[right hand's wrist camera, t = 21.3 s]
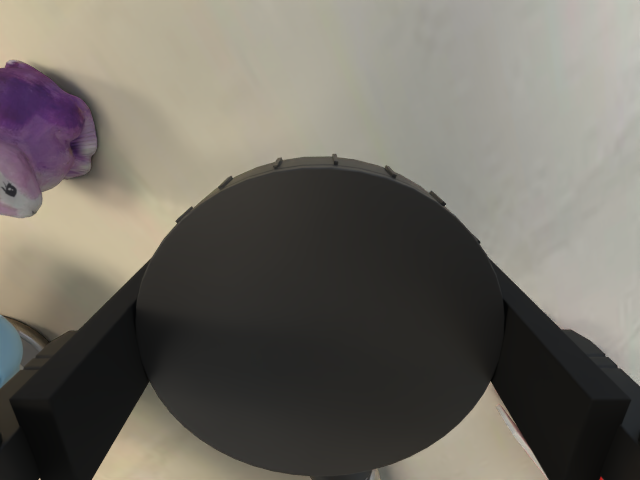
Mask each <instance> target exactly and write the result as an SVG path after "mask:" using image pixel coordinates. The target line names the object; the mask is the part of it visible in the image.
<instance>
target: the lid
mask: <svg viewBox="0 0 640 480" xmlns="http://www.w3.org/2000/svg"><path fill="white" fill-rule="evenodd" d="M445 205H446V203H445V202H444V201H443V200H441V199H440V198H439V197H438V196H437V195H436V194H435V193H434V192H432V191H430V193H428V192H427V191H426V190H424V189H423V188H422V187H421V186H419V185H417V184H416V183H414V182H412V181H410V180H409V179H407V178H405V177H404V176H402V175H400V174H398V173H395V172H394V171H393V170H392V169H391V168H390V167H389V166H387V165H386V166H385V168H383V167H380V166H378V165H374V164H370V163H366V162H362V161H358V160H354V159H346V158H338V157H337V155H336V154H332V157H301V158H294V159H287V160H282V158H278V159H277V160H276V162H274V163H270V164H267V165H263V166H260V167H256V168H254V169H252V170H250V171H247V172H245V173H243V174H241V175H238V176H236V177H234V178H232V176H230V177H228V178H227V179H226V180H225V181H224V182H223V183H222V184H221V185H220V186H219V187H218V188H217V189H215V190H214V191H213V192H212V193H210V194H209V195H208V196H207V197H206V198H204V199H203V200H202V201H201V202H200V203H198V204H197V205H196V206H195V207H194V208H193V207H190V208H189V209H188V210H187V211H186V212H185V213H184V214H183V215H181V216H180V217H179V218H178V219H177V220H176V222H177V224H176V226H175V227H174V228H173V229H172V230H171V231H170V232H169V234H168V235H167V236H166V237H165V238H164V239H163V241H162V242H161V244H160V246H159V247H158V249H157V250H156V252H155V253H154V255H153V257H152V258H151V260H150V262H149V265H148V267H147V269H146V272H145V274H144V276H143V279H142V282H141V286H140V290H139V294H138V298H137V306H136V318H135V326H136V338H137V343H138V347H139V352H140V356H141V361H142V364H143V367H144V369H145V372H146V374H147V377H148V379H149V381H150V383H151V385H152V387H153V388H154V390H155V392H156V394H157V395H158V397H159V398H160V400H161V401H162V402H163V404H164V405H165V406H166V407H167V409H168V410H169V411H170V413H171V414H172V415H173V416H174V417H175V418H176V419H177V420H178V421H179V422H180V423H181V424H182V425H183V426H184V427H185V428H187V429H188V430H189V431H190V432H192V433H193V434H194V435H195V436H196V437H198V438H199V439H200V440H202V441H204V442H205V443H207V444H208V445H210V446H211V447H213V448H214V449H216V450H218V451H220V452H222V453H224V454H226V455H228V456H230V457H232V458H234V459H237V460H239V461H242V462H244V463H247V464H250V465H252V466H256V467H259V468H263V469H267V470H270V471H275V472H281V473H287V474H293V475H305V476H336V475H346V474H354V473H359V472H364V471H369V470H374V469H377V468H380V467H384V466H387V465H391V464H393V463H396V462H398V461H401V460H403V459H406V458H408V457H410V456H412V455H414V454H416V453H418V452H420V451H422V450H424V449H426V448H427V447H429V446H430V445H432V444H433V443H435V442H436V441H438V440H439V439H441V438H442V437H444V436H445V435H446V434H447V433H449V432H450V431H451V430H452V429H453V428H454V427H456V426H457V425H458V424H459V423H460V422H461V421H462V420H463V419H464V418H465V417H466V416H467V415H468V413H469V412H470V411H471V410H472V409H473V408H474V406H475V405H476V404H477V402H478V401H479V399H480V398H481V397H482V395H483V394H484V392H485V390H486V388H487V387H488V385H489V383H490V381H491V379H492V377H493V375H494V372H495V369H496V367H497V364H498V361H499V358H500V353H501V348H502V344H503V339H504V323H505V315H504V306H503V298H502V293H501V290H500V286H499V283H498V279H497V276H496V273H495V271H494V269H493V267H492V265H491V263H490V261H489V259H488V256H487V254H486V253H485V251H484V250H483V249H482V247H481V246H480V241H479V240H478V239H477V238H476V237H475V236H474V235H473V234H472V233H471V232H470V231H469V230H468V229H467V228H466V227H465V226H464V225H463V224H462V223H461V222H460V220H459V219H458V218H457V217H456V216H455V215H454V214H452V213H451V212H450V211H449V210H448V209H447V208H446V207H445Z"/></svg>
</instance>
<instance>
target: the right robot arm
mask: <svg viewBox="0 0 640 480" xmlns="http://www.w3.org/2000/svg"><path fill="white" fill-rule="evenodd" d="M488 259H489V258H488ZM150 260H151V259H150ZM150 260H149V261H148V262H147V263H146V264H145V265H144V266H143V267H142V268H141V269H140V270H139V271H138V272H137V273H136V274H135V275H134V276H133V277H132V278H131V279H130V280H129V281H128V282H127V283H126V284H125V285H124V286H123V287H122V288H121V289H120V290H119V291H118V292H117V293H116V294H115V295H114V296H113V297H112V298H111V299H110V300H109V301H108V302H107V303H106V304H105V305H104V306H103V307H101V308H100V309H99V310H98V311H97V312H96V313H95V314H94V315H93V316H92V317H91V318H90V319H89V320H88V321H87V322H86V323H85V324H84V325H83V326H82V327H81V328H80V329H79V330H78V331H68V332H67V333H65V334H63V335H62V336H60V337H58V338H56V339H55V340H53V341H51V342H50V343H49V344H48V345H46V346H45V347H44V348H43V349H42V350H41V351H40V352H39V353H38V354H37V355H36V357H35V358H33V359H31V360H30V361H29V362H28V363H27V364H26V365H25V366H24V368H23V370H20V371H19V372H17V373H16V374H15V375H14V376H13V377H12V378H11V379H10V380H9V381H8V382H7V383H6V384H5V385H4V386H2V387H1V388H0V480H38V479H39V478H40V479H41V480H92V478H93V477H94V475H95V473H96V471H97V470H98V468H99V466H100V465H101V463H102V461H103V459H104V458H105V456H106V454H107V453H108V451H109V449H110V448H111V446H112V444H113V442H114V441H115V439H116V437H117V436H118V434H119V432H120V431H121V429H122V427H123V425H124V424H125V422H126V420H127V419H128V417H129V415H130V413H131V412H132V410H133V408H134V407H135V405H136V403H137V402H138V400H139V398H140V396H141V395H142V393H143V391H144V390H145V388H146V386H147V385H148V383H149V379H148V377H147V374H146V372H145V369H144V367H143V364H142V361H141V356H140V352H139V347H138V343H137V338H136V326H135V318H136V306H137V298H138V294H139V290H140V286H141V282H142V279H143V276H144V274H145V272H146V269H147V267H148V265H149V262H150ZM489 261H490V263H491V265H492V267H493V269H494V271H495V273H496V276H497V279H498V283H499V286H500V290H501V293H502V298H503V306H504V315H505V323H504V339H503V344H502V348H501V353H500V358H499V361H498V364H497V367H496V369H495V372H494V375H493V377H492V379H491V382H492V384H493V386H494V388H495V389H496V391H497V393H498V394H499V396H500V398H501V399H502V401H503V403H504V405H505V406H506V408H507V410H508V411H509V413H510V415H511V416H512V418H513V420H514V422H515V423H516V425H517V427H518V428H519V430H520V432H521V434H522V435H523V437H524V439H525V440H526V442H527V444H528V445H529V447H530V449H531V451H532V452H533V454H534V456H535V457H536V459H537V461H538V462H539V464H540V466H541V468H542V469H543V471H544V473H545V474H546V476H547V478H548V480H600V477H602V478H603V480H640V386H639V385H638V384H637V383H636V382H634V381H633V380H632V379H631V378H630V377H629V376H628V375H627V374H626V373H625V372H624V371H623V370H622V369H620V368H617V365H616V364H615V363H614V362H613V361H612V360H611V359H610V358H609V357H605V354H604V353H603V352H602V351H601V350H600V349H599V348H598V347H597V346H596V345H595V344H593V343H592V342H591V341H590V340H588V339H586V338H585V337H583V336H581V335H579V334H578V333H576V332H574V331H573V330H561V329H560V328H559V327H558V326H557V325H556V324H555V323H554V322H553V321H552V320H551V319H550V318H549V317H548V316H547V315H546V314H545V313H544V312H543V311H542V310H541V309H540V308H539V307H538V306H537V305H536V304H535V303H534V302H533V301H532V300H531V299H530V298H529V297H528V296H527V295H526V294H525V293H524V292H523V291H522V290H521V289H520V288H519V287H518V286H517V285H516V284H515V283H514V282H513V281H512V280H511V279H510V278H509V277H508V276H507V275H506V274H504V273H503V272H502V271H501V270H500V269H499V268H498V267H497V266H496V265H495V264H494V263H493V262H492V261H491V260H490V259H489Z"/></svg>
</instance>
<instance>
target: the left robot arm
mask: <svg viewBox="0 0 640 480" xmlns="http://www.w3.org/2000/svg"><path fill="white" fill-rule="evenodd" d="M49 343H50V342H49V341H48V340H47V339H45V338H44V337H43V336H42V335H41V334H39V333H38V332H37V331H35V330H34V329H32V328H30V327H28V326H27V325H25V324H23V323H20V322H18V321H16V320H13V319H10V318H6V317H3V316H2V315H0V388H1V387H2V386H4V385H5V384H6V383H7V382H8V381H9V380H10V379H11V378H12V377H13V376H14V375H15V374H16V373H17V372H19V371H20V370H23V368H24V366H25V365H26V364H27V363H28V362H29V361H30V360H31V359H33V358H35V357H36V355H37V354H38V353H39V352H40V351H41V350H42V349H43V348H44V347H45V346H46V345H48V344H49ZM310 477H311V479H312V480H381V479H380V475H379V472H378V468H377V469H374V470H369V471H364V472H359V473H354V474H346V475H336V476H310Z"/></svg>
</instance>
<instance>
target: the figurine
mask: <svg viewBox="0 0 640 480" xmlns="http://www.w3.org/2000/svg"><path fill="white" fill-rule="evenodd" d="M97 146H98V145H97V137H96V131H95V125H94V121H93V117H92V116H91V111H90V108H89V107H88V106H87V105H86V103H85V102H84V101H83V100H82V99H80V98H79V97H77V96H74V95H71V94H69V93H67V92H65V91H63V90H62V89H61V88H60V87H59V86H58V85H57V84H56V83H55V82H53V81H52V80H51V79H50V78H49V77H47V76H46V75H44V74H42V73H41V72H39V71H38V70H36V69H35V68H33V67H32V66H30V65H28V64H26V63H23V62H21V61H17V60H9V61H8V62H7V63H6V66H5V68H0V215H5V216H11V217H16V218H25V217H30V216H33V215H34V214H35V213H36V212H37V211H38V209H39V208H40V207H41V205H42V192H44V191H46V190H49V189H52V188H53V187H55V186H56V185H58V184H59V183H60V182H61V181H62V180H63V179H71V178H72V177H77V176H82V175H85V174H87V173H88V172H89V171H90V169H91V157H92V155H93V154H95V152H96V149H97Z"/></svg>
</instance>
